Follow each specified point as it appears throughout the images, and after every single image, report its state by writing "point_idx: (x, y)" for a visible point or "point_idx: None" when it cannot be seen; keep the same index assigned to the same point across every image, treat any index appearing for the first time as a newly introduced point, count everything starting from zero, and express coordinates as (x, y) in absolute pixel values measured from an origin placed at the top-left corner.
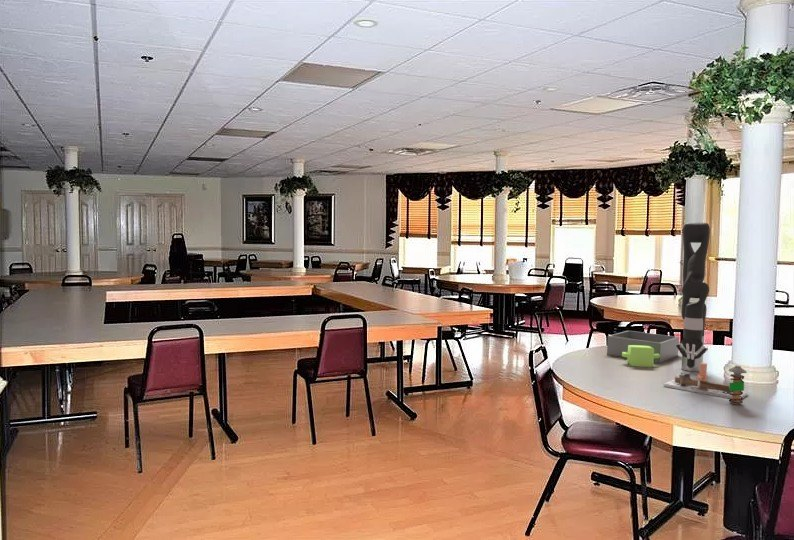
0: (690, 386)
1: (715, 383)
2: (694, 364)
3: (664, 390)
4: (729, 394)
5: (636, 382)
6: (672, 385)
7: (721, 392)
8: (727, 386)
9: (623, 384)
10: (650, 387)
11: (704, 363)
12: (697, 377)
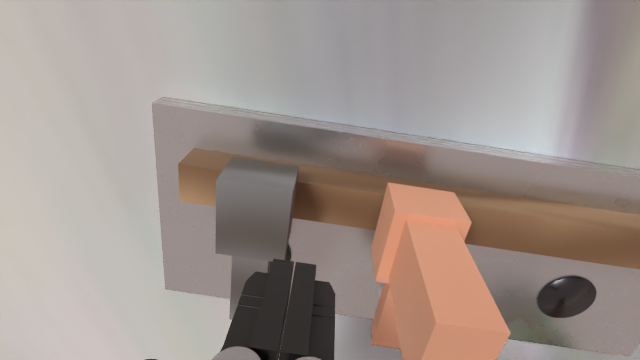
0: (328, 265)
1: (517, 236)
2: (331, 314)
3: (213, 349)
4: (574, 325)
5: (11, 270)
6: (223, 295)
7: (529, 306)
8: (605, 262)
9: (3, 345)
10: (131, 331)
11: (470, 358)
12: (379, 344)
